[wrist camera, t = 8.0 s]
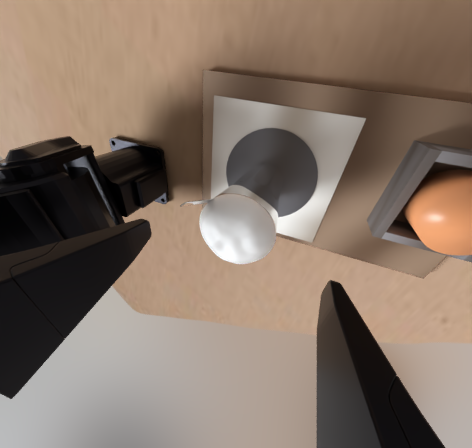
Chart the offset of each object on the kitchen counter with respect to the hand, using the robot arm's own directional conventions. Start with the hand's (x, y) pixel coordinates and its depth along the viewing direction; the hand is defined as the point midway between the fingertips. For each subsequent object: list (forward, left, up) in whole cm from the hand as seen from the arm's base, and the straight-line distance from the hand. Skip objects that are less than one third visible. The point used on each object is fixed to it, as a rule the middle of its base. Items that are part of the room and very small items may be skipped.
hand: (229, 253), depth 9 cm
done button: (+12, +1, -9) cm, 15 cm away
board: (+4, 0, -11) cm, 12 cm away
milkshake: (-1, 0, -10) cm, 10 cm away
